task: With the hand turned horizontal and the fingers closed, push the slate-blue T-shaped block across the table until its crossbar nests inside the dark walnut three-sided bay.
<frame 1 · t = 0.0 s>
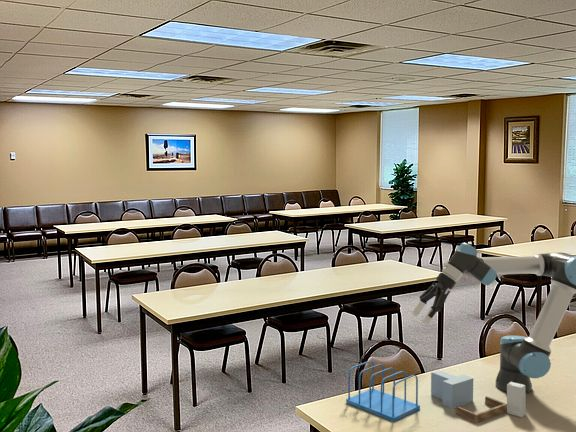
hand: (418, 319, 239), 36 cm above the table, tool tilted 35°, fingers open, 13 cm apart
file sorter: (382, 407, 240), on the table
skincare box: (515, 414, 231), on the table
t block: (448, 399, 247), on the table
bay: (479, 411, 233), on the table
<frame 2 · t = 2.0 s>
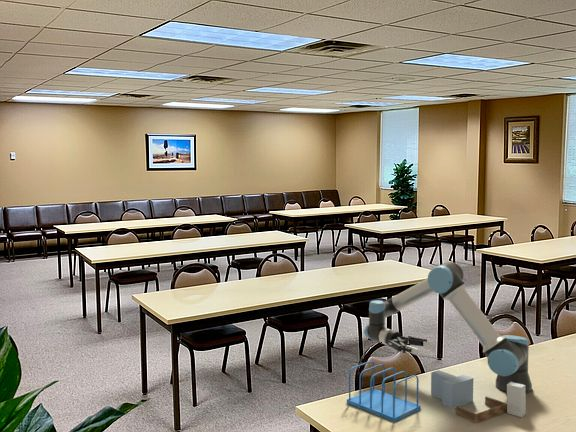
hand: (426, 349, 256), 18 cm above the table, tool horizontal, fingers open, 10 cm apart
nothing on the table moved.
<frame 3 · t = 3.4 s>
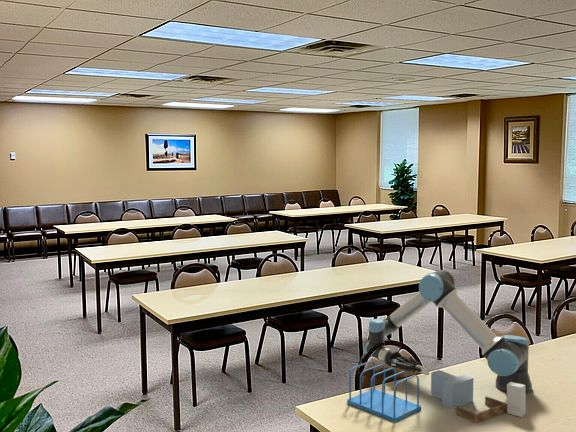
hand: (427, 372, 256), 8 cm above the table, tool horizontal, fingers closed
nothing on the table moved.
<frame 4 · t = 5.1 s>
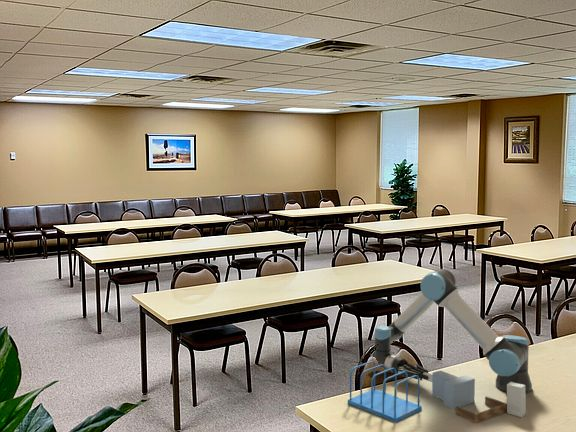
hand: (435, 379, 252), 6 cm above the table, tool horizontal, fingers closed
t block: (449, 399, 246), on the table, touching gripper
everything else where it was.
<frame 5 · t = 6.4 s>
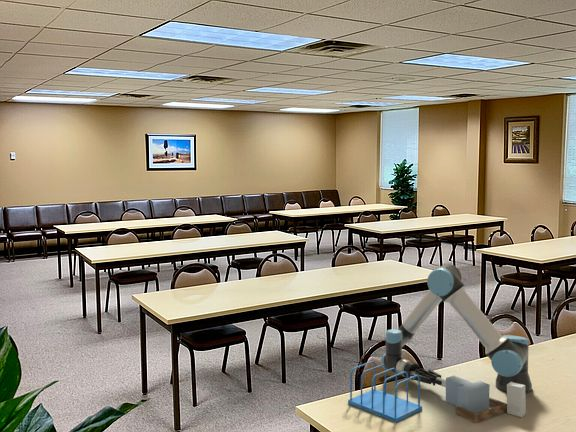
hand: (448, 384, 245), 6 cm above the table, tool horizontal, fingers closed
t block: (463, 405, 240), on the table, touching gripper
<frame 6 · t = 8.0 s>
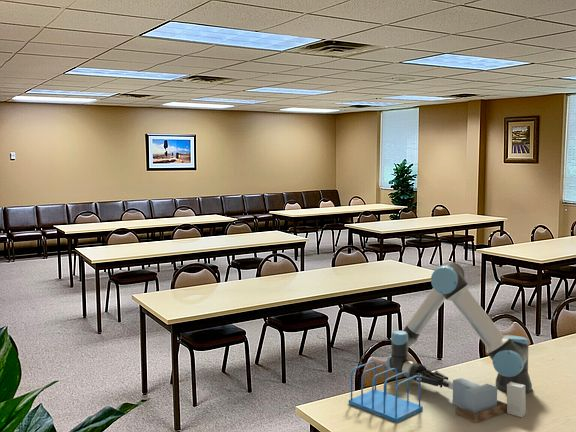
hand: (456, 387, 243), 6 cm above the table, tool horizontal, fingers closed
t block: (470, 408, 237), on the table, touching gripper
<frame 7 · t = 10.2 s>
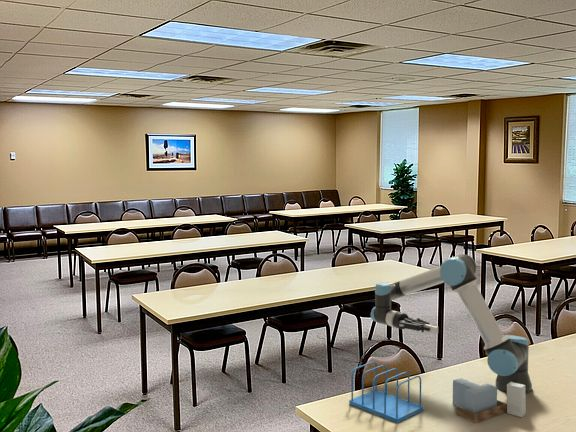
hand: (437, 330, 253), 27 cm above the table, tool horizontal, fingers closed
t block: (470, 408, 237), on the table
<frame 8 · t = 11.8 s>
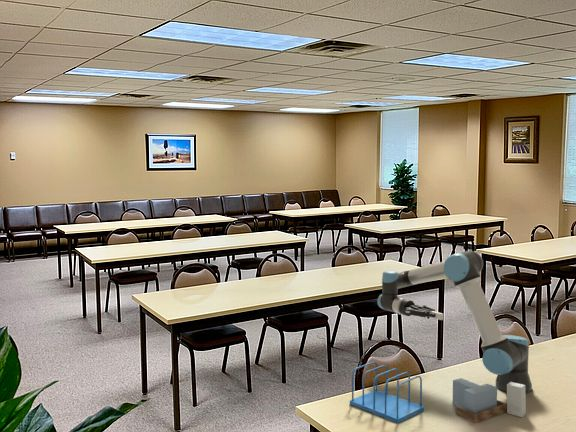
hand: (442, 316, 258), 32 cm above the table, tool horizontal, fingers closed
at the end: t block inside the target area (0.6 cm from its centre), on the table; t block tilted 0°; t block touching table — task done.
